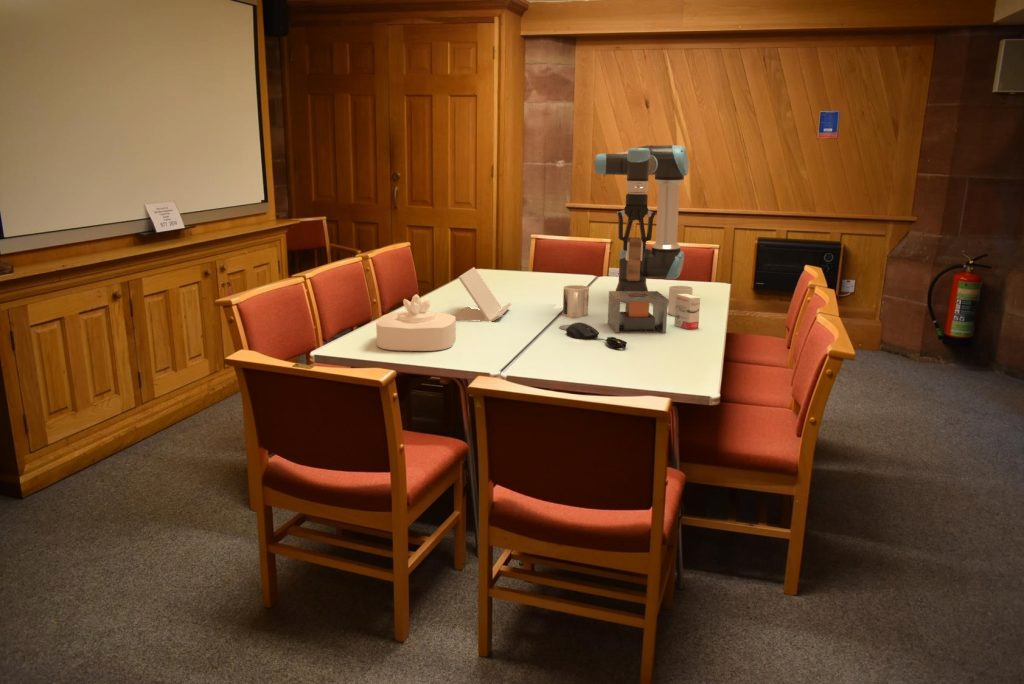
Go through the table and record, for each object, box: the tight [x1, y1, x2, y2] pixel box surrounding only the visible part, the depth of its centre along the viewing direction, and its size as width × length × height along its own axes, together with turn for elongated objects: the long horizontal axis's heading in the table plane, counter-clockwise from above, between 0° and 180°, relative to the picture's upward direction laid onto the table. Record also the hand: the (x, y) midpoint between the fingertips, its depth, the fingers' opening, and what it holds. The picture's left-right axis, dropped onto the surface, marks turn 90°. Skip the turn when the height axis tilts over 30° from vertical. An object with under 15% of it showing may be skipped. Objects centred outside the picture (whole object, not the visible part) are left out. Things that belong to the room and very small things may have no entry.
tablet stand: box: [455, 267, 512, 322], centre depth 301 cm, size 18×25×17 cm
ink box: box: [674, 294, 701, 331], centre depth 284 cm, size 8×5×12 cm, turn 26°
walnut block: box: [626, 236, 642, 281], centre depth 277 cm, size 4×4×15 cm
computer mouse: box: [565, 321, 628, 349], centre depth 263 cm, size 8×28×5 cm, turn 39°
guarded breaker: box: [607, 290, 669, 334], centre depth 281 cm, size 16×18×12 cm
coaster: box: [558, 324, 571, 331], centre depth 281 cm, size 8×8×1 cm
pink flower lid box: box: [375, 294, 457, 352], centre depth 258 cm, size 25×25×16 cm
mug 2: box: [667, 285, 694, 317], centre depth 306 cm, size 12×9×11 cm
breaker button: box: [624, 302, 650, 317], centre depth 280 cm, size 7×7×6 cm
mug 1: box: [562, 284, 590, 318], centre depth 302 cm, size 10×12×11 cm
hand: (633, 259), depth 277 cm, fingers closed on walnut block, 4 cm apart
